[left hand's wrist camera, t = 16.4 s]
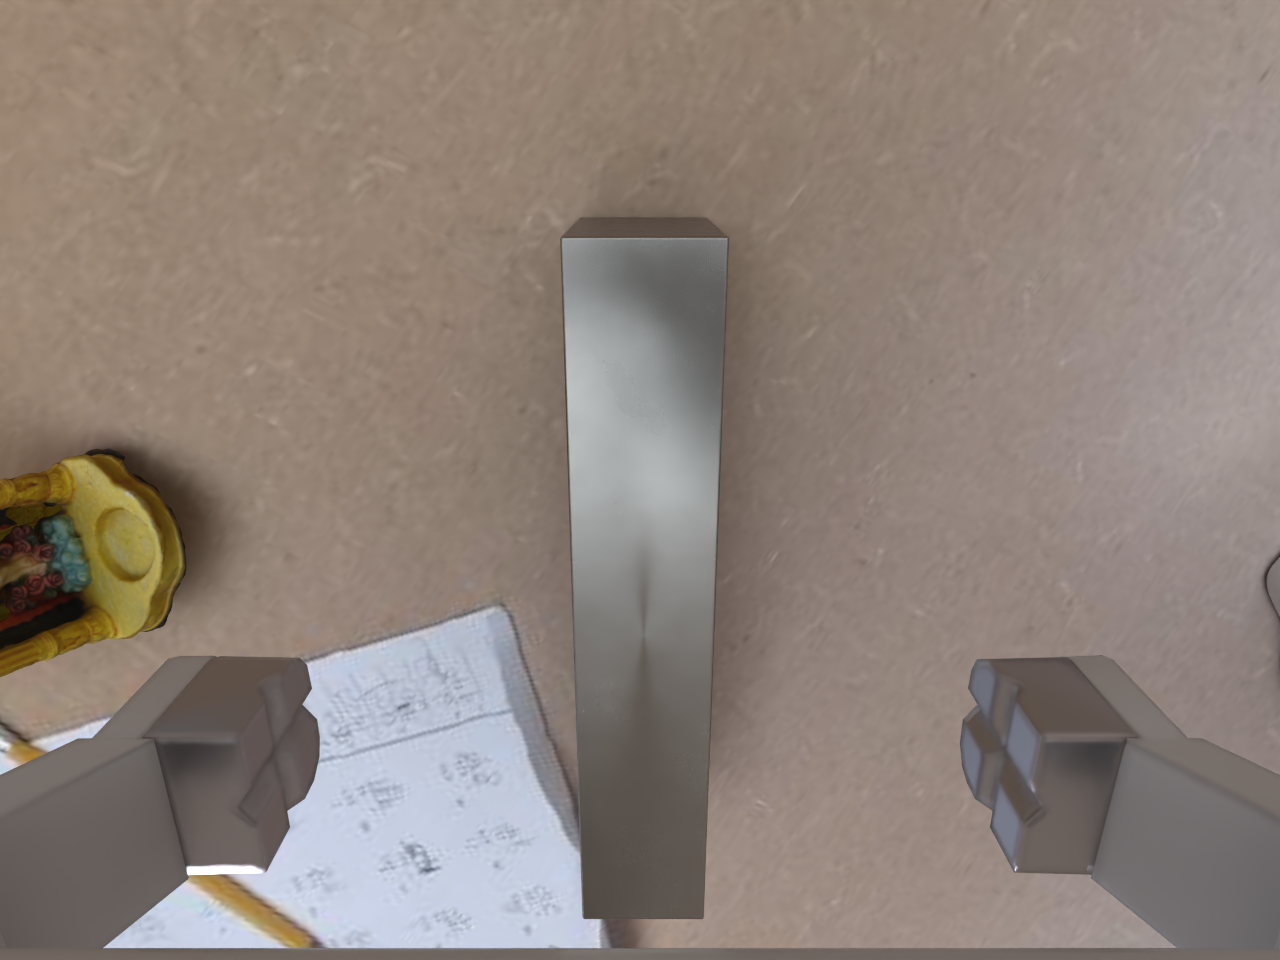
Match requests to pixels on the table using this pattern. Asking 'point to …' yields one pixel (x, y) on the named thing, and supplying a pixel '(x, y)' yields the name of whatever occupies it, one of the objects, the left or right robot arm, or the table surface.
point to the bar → (643, 550)
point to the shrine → (83, 558)
